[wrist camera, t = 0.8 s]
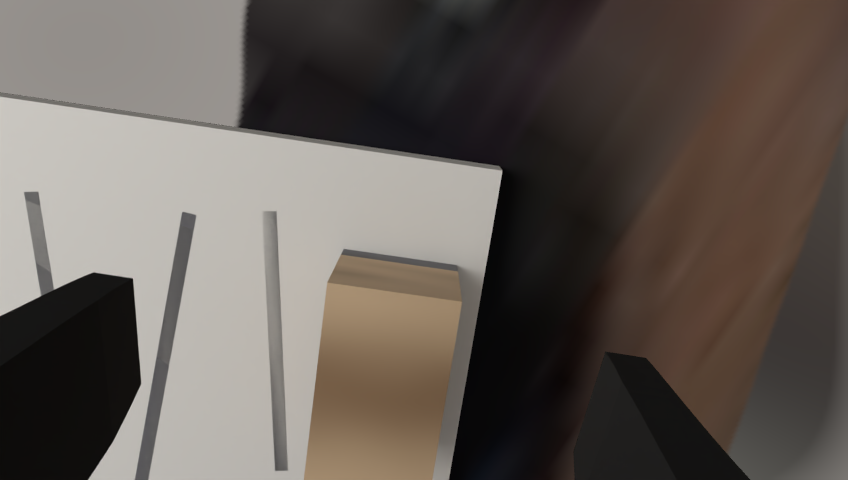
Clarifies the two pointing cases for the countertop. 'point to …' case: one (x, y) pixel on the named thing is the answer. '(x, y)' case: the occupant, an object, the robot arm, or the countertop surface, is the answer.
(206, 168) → the board
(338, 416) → the cork block
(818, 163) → the countertop surface
